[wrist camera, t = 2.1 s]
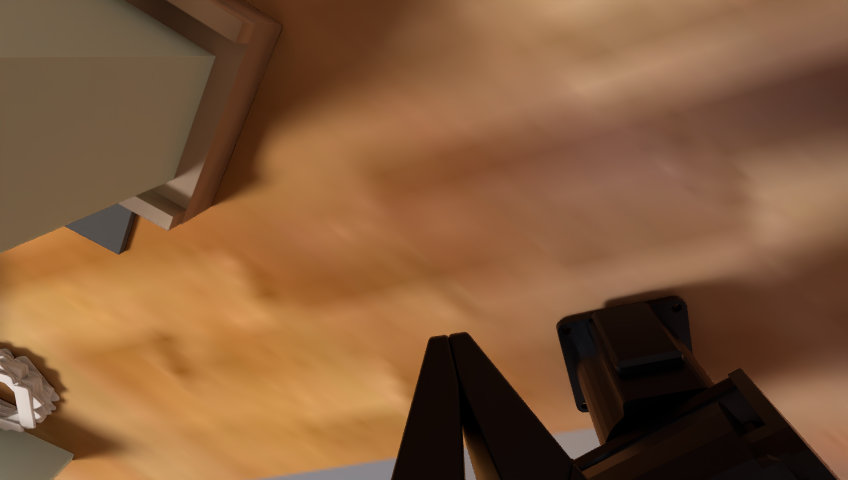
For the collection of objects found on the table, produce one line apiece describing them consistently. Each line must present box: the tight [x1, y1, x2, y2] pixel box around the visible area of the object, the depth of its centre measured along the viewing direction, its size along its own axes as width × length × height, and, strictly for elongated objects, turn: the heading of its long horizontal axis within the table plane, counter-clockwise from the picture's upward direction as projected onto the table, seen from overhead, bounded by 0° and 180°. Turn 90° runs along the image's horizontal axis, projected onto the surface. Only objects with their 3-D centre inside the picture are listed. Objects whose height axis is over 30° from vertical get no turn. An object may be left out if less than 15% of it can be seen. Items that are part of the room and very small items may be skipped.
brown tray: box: [118, 0, 282, 231], centre depth 17 cm, size 19×10×4 cm, turn 59°
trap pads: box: [65, 203, 136, 255], centre depth 19 cm, size 12×21×1 cm, turn 149°
